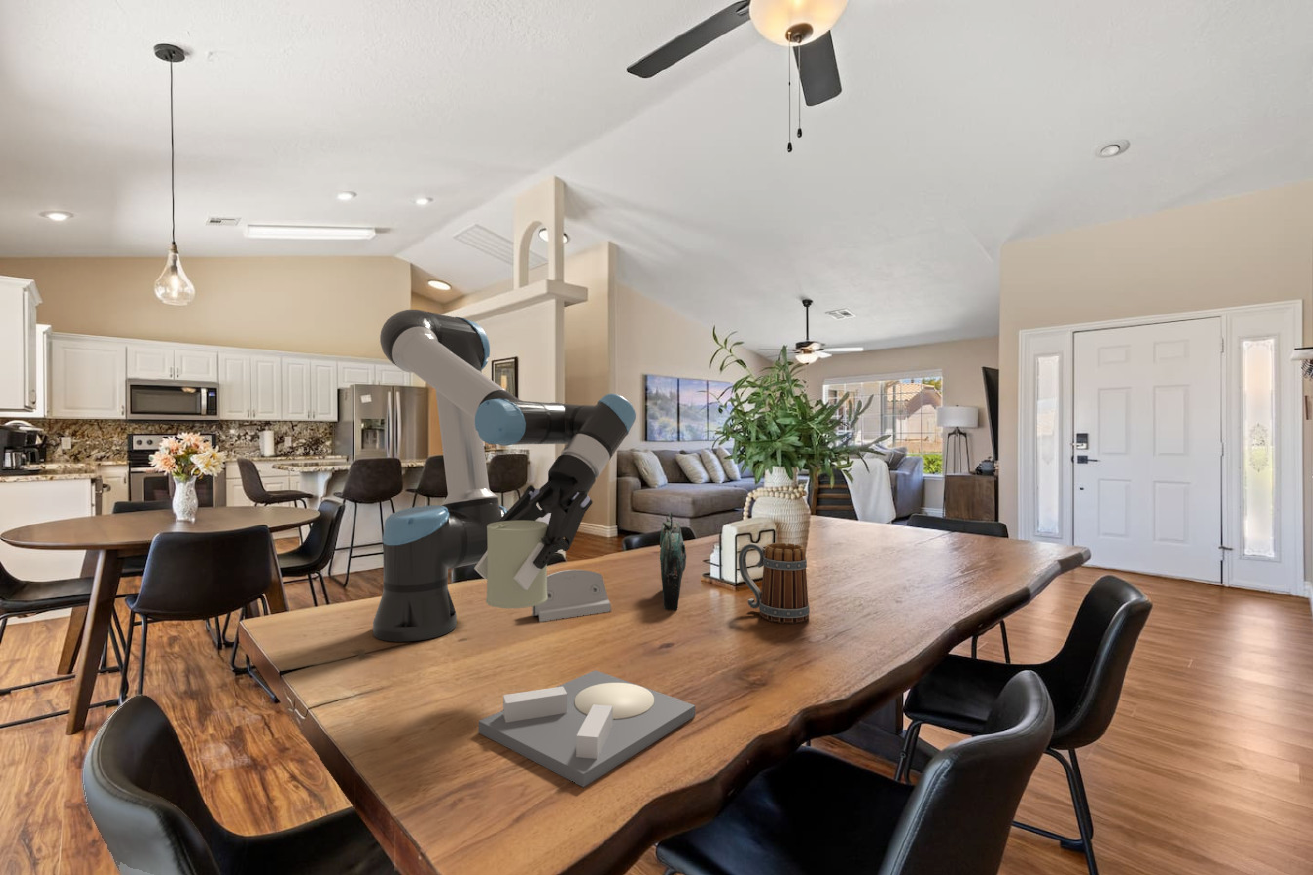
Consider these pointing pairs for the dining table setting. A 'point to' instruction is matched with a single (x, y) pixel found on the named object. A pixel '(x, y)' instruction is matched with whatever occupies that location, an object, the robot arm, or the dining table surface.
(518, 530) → the can
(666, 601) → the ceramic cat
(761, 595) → the mug
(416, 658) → the dining table surface
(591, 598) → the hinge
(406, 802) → the dining table surface
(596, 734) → the coupling stand
